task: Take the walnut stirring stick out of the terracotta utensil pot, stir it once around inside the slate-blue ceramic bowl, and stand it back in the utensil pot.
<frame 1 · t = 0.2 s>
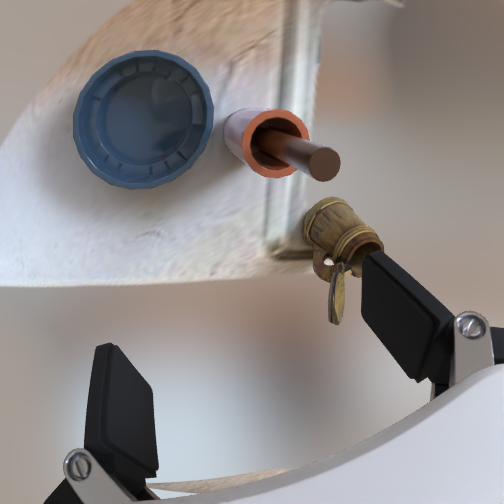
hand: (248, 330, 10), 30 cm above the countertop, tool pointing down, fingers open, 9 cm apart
stick: (250, 133, 35), point 1 cm above the countertop, touching holder
wooden mug: (315, 228, 45), on the countertop
bowl: (145, 117, 31), on the countertop
holder: (249, 133, 36), on the countertop
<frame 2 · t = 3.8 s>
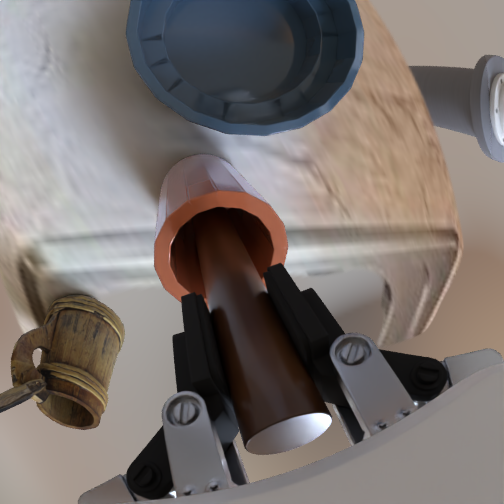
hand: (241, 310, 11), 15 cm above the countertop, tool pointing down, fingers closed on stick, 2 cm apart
stick: (202, 195, 23), point 1 cm above the countertop, touching gripper, holder
wooden mug: (73, 311, 26), on the countertop
bowl: (236, 39, 18), on the countertop
holder: (201, 193, 24), on the countertop
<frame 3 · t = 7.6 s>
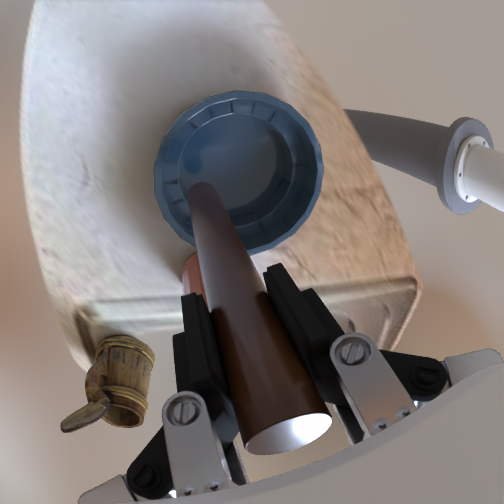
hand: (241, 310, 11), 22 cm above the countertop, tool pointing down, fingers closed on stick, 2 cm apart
stick: (202, 195, 23), point 7 cm above the countertop, touching gripper
wooden mug: (116, 345, 38), on the countertop
bowl: (231, 165, 30), on the countertop
holder: (209, 273, 36), on the countertop
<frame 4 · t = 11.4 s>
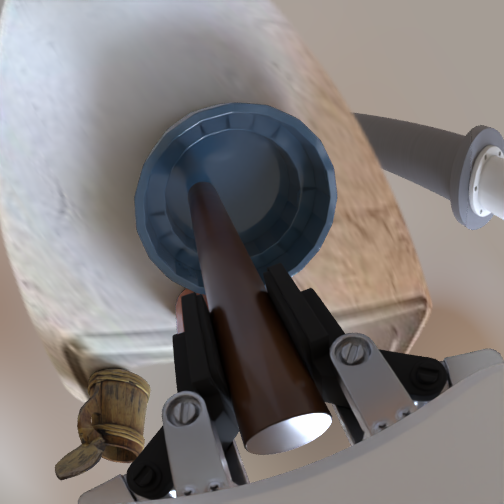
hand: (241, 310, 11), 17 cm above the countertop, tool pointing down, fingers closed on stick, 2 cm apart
stick: (202, 195, 23), point 2 cm above the countertop, touching gripper
wooden mug: (109, 377, 34), on the countertop
bowl: (228, 188, 26), on the countertop
holder: (205, 306, 32), on the countertop
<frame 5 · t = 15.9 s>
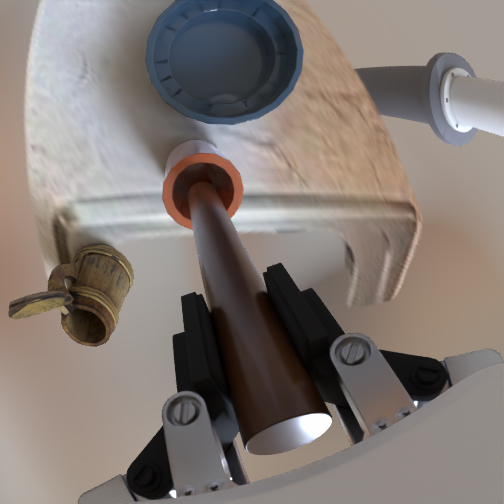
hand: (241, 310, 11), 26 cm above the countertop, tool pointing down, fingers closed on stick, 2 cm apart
stick: (202, 195, 23), point 12 cm above the countertop, touching gripper
wooden mug: (94, 259, 35), on the countertop
bowl: (218, 59, 27), on the countertop
holder: (194, 167, 33), on the countertop
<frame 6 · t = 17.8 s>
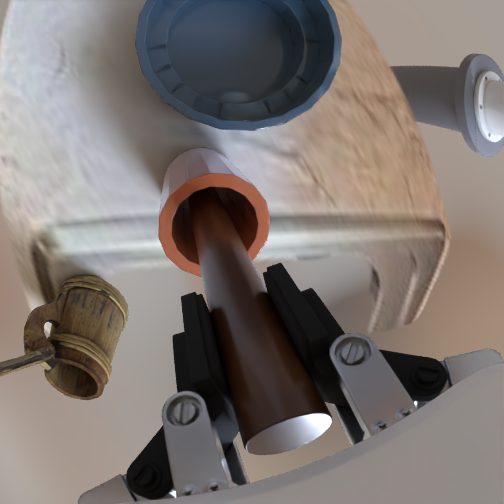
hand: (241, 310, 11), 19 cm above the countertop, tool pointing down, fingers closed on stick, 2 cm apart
stick: (202, 195, 23), point 4 cm above the countertop, touching gripper
wooden mug: (81, 291, 29), on the countertop
bowl: (230, 46, 21), on the countertop
holder: (199, 182, 27), on the countertop
when the fingers open (15 cm above the countertop, at t = 19.1 s): stick stays where it is, resting on holder.
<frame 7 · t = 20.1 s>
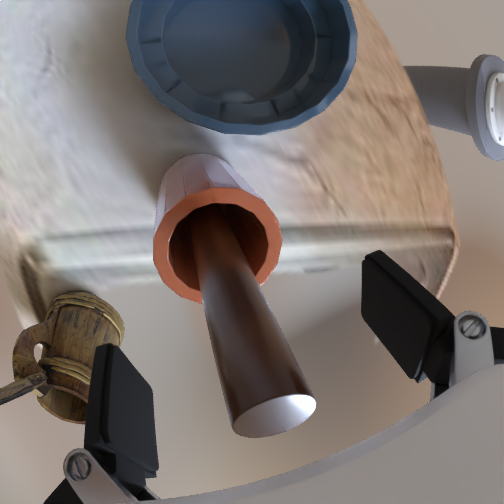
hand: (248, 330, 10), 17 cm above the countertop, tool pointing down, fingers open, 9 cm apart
stick: (198, 194, 24), point 1 cm above the countertop, touching holder
wooden mug: (74, 308, 26), on the countertop
bowl: (233, 41, 19), on the countertop
holder: (199, 191, 24), on the countertop
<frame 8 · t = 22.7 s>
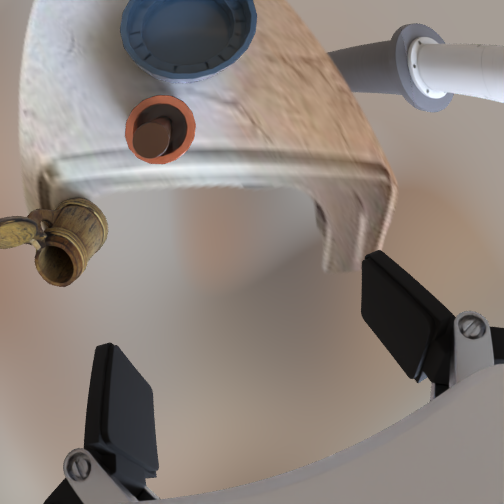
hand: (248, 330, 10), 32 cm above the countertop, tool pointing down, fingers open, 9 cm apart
stick: (163, 124, 34), point 1 cm above the countertop, touching holder
wooden mug: (72, 213, 36), on the countertop
bowl: (186, 31, 28), on the countertop
holder: (164, 124, 34), on the countertop
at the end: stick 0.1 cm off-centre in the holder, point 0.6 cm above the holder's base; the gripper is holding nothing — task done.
